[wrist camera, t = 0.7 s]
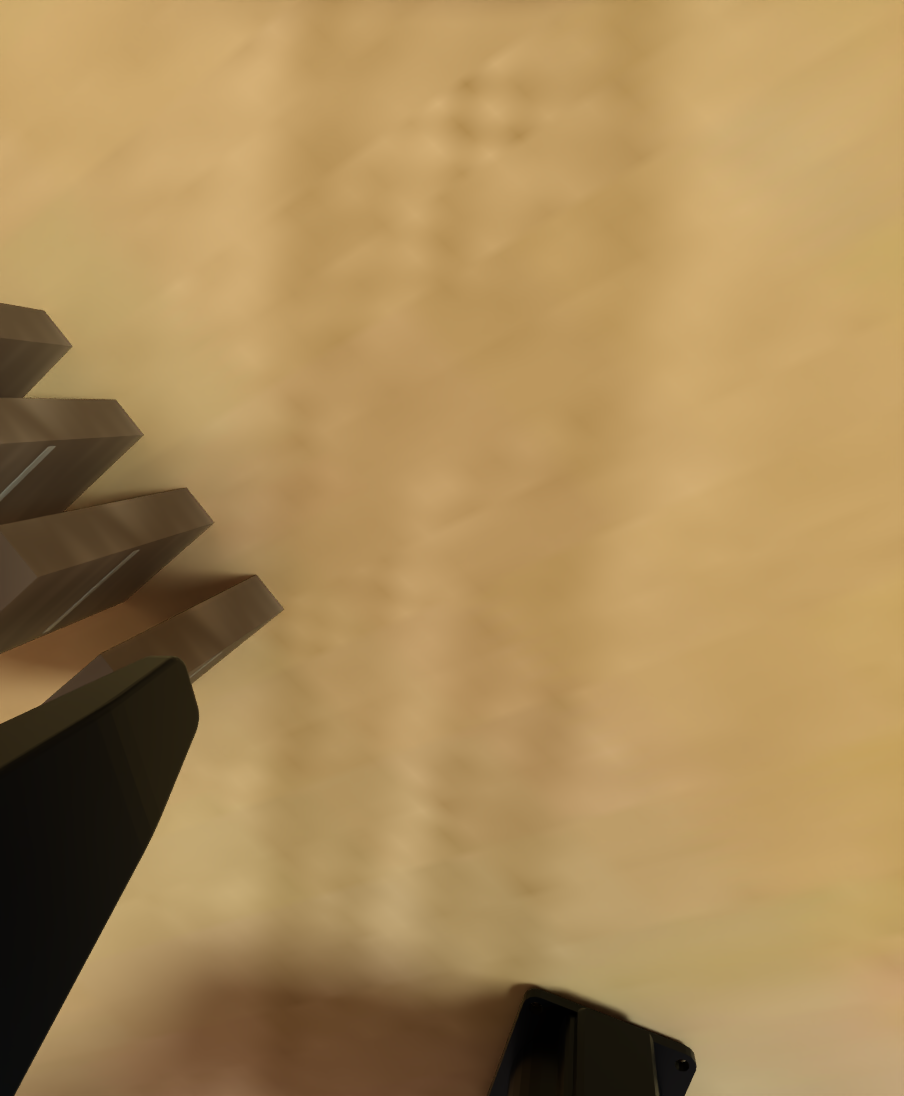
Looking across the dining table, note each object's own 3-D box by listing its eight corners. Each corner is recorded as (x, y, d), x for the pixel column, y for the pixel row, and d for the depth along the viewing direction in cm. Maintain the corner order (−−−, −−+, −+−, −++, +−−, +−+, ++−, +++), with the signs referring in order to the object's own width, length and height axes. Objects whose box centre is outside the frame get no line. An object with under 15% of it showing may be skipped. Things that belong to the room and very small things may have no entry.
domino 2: (214, 522, 27) (38, 577, 18) (124, 602, 28) (-82, 688, 20) (185, 487, 27) (-5, 525, 18) (96, 568, 28) (-122, 640, 20)
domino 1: (284, 609, 27) (141, 705, 19) (191, 684, 29) (16, 807, 20) (256, 574, 27) (99, 653, 19) (164, 650, 28) (-23, 759, 20)
